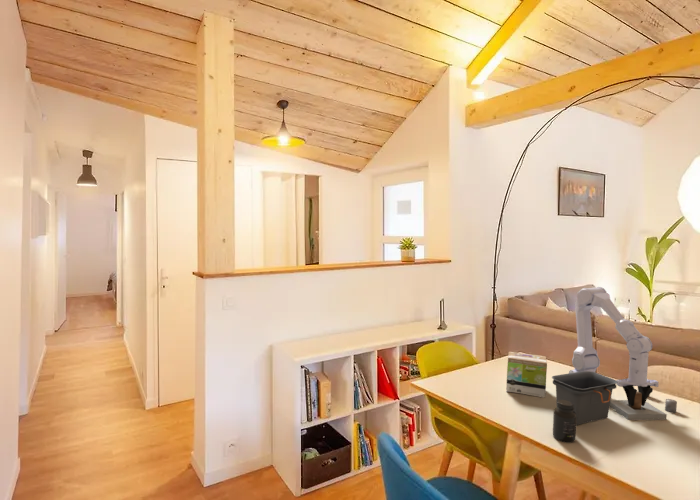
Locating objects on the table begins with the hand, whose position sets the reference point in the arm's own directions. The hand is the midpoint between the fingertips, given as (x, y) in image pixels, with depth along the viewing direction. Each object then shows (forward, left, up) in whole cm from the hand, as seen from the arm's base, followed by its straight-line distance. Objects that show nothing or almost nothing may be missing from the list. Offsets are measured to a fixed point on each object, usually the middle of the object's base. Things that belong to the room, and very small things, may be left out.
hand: (636, 404), depth 159 cm
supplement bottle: (-37, -19, -3) cm, 42 cm away
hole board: (0, 0, -3) cm, 3 cm away
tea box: (-33, +20, -3) cm, 39 cm away
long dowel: (0, 0, -2) cm, 3 cm away
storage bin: (-22, -5, -3) cm, 23 cm away
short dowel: (+14, +1, -3) cm, 14 cm away
